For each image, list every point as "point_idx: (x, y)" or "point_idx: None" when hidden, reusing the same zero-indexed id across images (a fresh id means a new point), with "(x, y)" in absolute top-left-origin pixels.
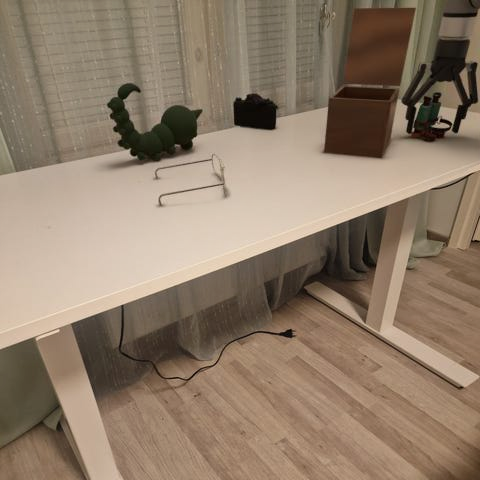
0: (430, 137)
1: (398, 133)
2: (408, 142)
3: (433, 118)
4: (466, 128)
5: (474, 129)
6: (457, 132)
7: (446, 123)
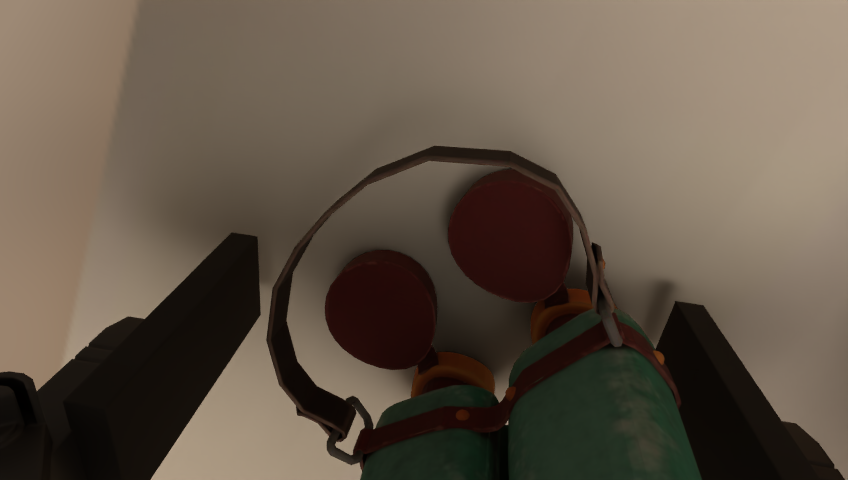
0: (534, 183)
1: None
2: (735, 195)
3: (425, 438)
4: None
5: None
6: (233, 237)
7: (298, 370)
